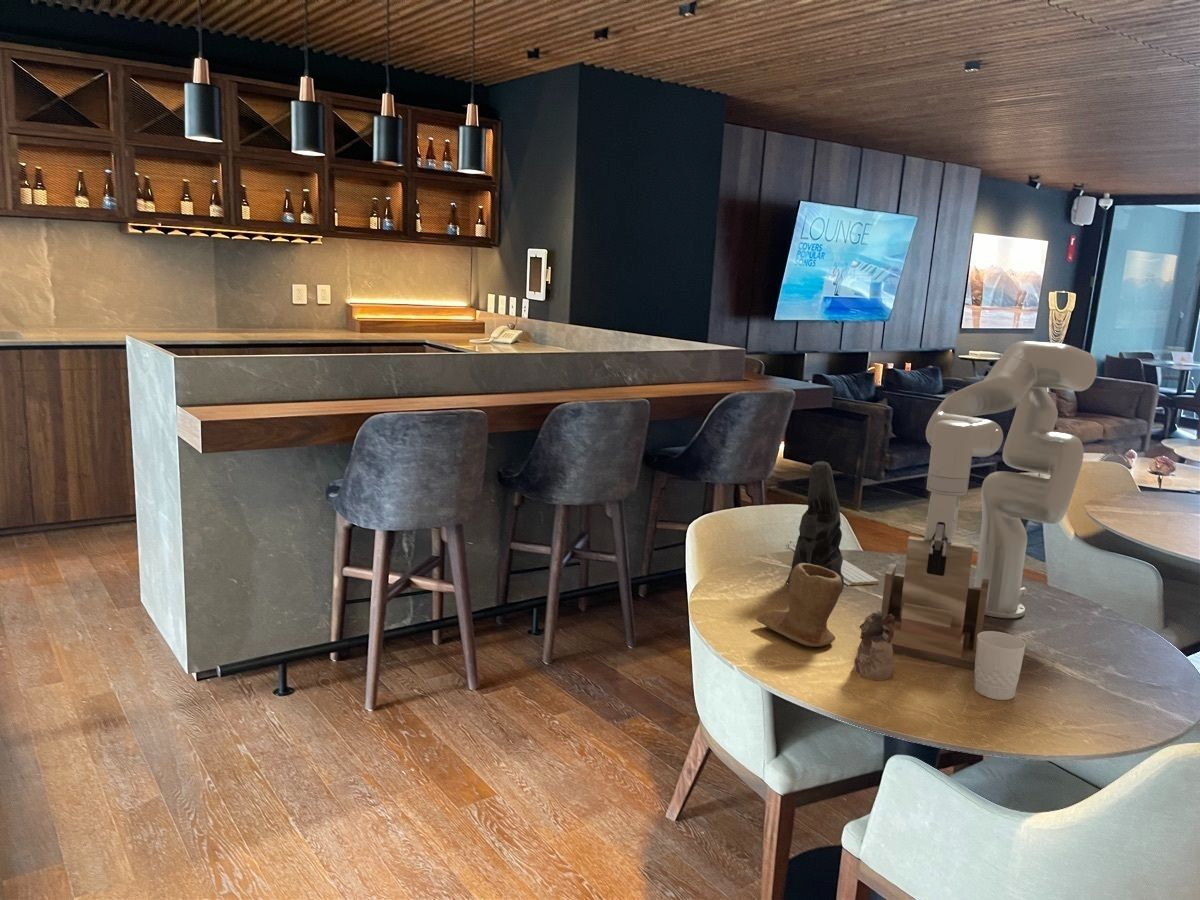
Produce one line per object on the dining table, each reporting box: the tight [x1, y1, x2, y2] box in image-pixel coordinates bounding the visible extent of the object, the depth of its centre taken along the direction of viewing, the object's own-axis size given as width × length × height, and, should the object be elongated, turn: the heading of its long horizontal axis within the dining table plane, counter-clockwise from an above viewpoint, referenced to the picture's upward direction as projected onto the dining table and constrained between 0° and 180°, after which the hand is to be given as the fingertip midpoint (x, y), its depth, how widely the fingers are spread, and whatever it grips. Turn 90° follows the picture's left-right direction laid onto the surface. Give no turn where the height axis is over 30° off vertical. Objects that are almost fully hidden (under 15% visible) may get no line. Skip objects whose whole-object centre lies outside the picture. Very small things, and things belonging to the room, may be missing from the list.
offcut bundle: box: [891, 603, 965, 658], centre depth 172 cm, size 5×13×8 cm, turn 64°
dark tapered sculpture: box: [786, 460, 845, 592], centre depth 208 cm, size 14×14×30 cm
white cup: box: [973, 630, 1026, 701], centre depth 157 cm, size 8×8×10 cm
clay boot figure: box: [756, 563, 843, 648], centre depth 179 cm, size 15×12×15 cm
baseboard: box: [785, 541, 880, 586], centre depth 226 cm, size 30×3×10 cm
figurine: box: [852, 610, 895, 681], centre depth 163 cm, size 7×7×12 cm
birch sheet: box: [900, 535, 974, 631], centre depth 176 cm, size 2×12×20 cm, turn 64°
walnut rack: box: [880, 563, 989, 671], centre depth 175 cm, size 14×19×14 cm
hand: (937, 567), depth 175 cm, fingers open, 9 cm apart
